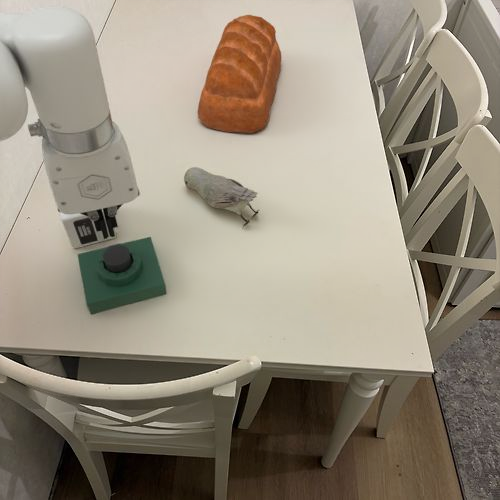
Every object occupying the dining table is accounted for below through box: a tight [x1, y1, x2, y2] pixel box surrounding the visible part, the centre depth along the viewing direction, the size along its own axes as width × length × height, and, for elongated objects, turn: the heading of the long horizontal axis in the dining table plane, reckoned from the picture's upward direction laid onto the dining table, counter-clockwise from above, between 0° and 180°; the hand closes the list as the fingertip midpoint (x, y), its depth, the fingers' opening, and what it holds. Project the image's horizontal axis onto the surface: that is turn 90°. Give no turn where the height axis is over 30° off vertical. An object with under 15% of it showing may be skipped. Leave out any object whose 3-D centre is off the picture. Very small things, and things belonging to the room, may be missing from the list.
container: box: [58, 209, 118, 249], centre depth 80 cm, size 8×8×13 cm
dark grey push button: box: [103, 244, 132, 273], centre depth 75 cm, size 4×4×2 cm
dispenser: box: [77, 236, 167, 315], centre depth 77 cm, size 12×10×5 cm
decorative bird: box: [183, 166, 260, 230], centre depth 87 cm, size 5×16×8 cm, turn 55°
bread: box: [197, 14, 283, 134], centre depth 108 cm, size 16×31×13 cm, turn 170°
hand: (107, 230), depth 69 cm, fingers closed
